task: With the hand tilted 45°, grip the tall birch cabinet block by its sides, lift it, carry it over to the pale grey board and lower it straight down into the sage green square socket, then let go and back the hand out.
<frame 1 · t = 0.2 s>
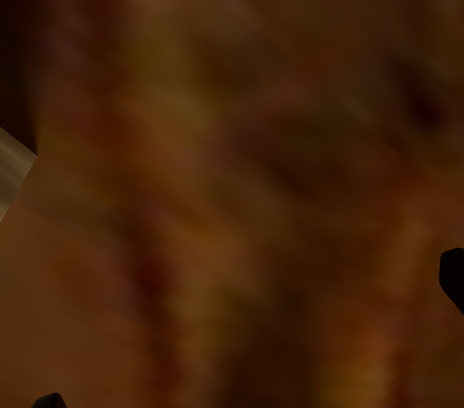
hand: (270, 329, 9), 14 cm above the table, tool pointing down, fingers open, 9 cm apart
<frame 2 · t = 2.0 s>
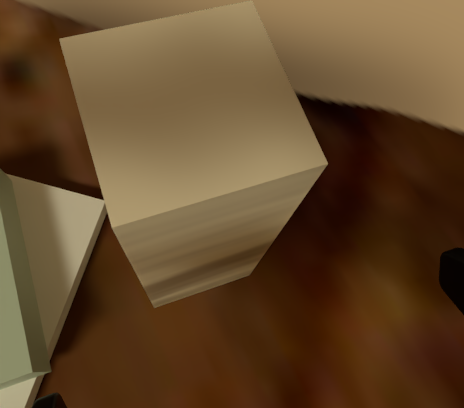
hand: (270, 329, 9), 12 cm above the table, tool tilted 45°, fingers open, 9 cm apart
birch cabinet block: (187, 244, 22), on the table
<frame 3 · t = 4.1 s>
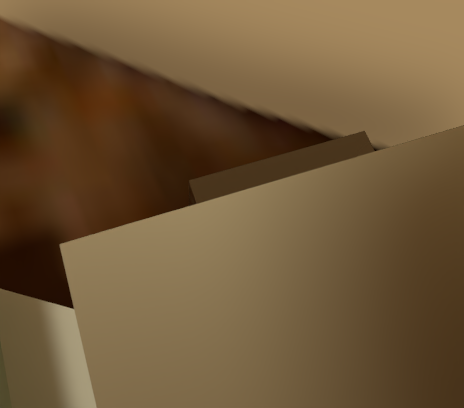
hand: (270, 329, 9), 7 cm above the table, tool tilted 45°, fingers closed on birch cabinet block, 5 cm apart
birch cabinet block: (249, 384, 15), on the table, touching gripper
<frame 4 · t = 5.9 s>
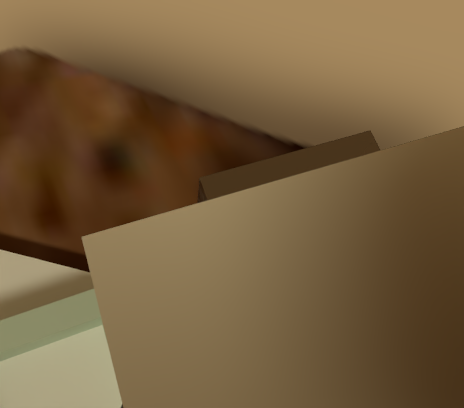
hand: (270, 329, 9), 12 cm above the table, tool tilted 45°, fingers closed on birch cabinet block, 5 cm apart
birch cabinet block: (249, 382, 15), point 6 cm above the table, touching gripper
when the fingers open (9 cm above the table, at t = 7.8 s): birch cabinet block stays where it is, resting on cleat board.
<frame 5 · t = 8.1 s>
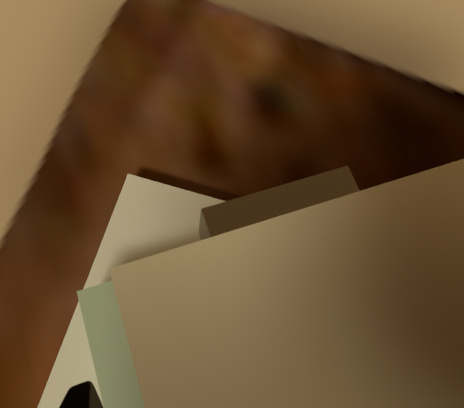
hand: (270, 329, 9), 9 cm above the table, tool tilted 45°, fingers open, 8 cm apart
birch cabinet block: (247, 381, 16), point 1 cm above the table, touching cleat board
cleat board: (242, 379, 17), on the table
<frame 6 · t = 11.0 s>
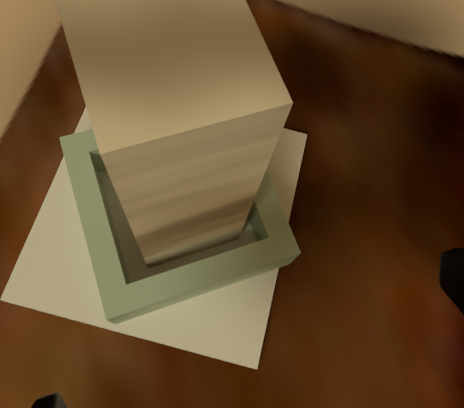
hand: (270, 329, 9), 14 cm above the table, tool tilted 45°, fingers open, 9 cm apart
birch cabinet block: (179, 211, 23), point 1 cm above the table, touching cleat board
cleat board: (178, 216, 24), on the table
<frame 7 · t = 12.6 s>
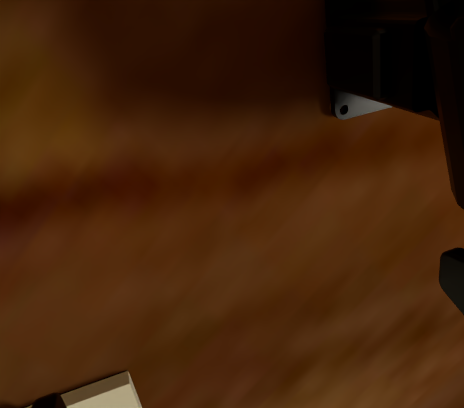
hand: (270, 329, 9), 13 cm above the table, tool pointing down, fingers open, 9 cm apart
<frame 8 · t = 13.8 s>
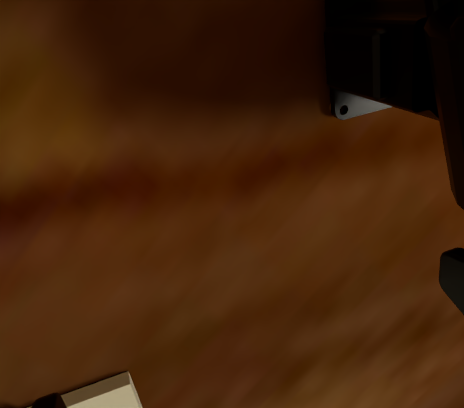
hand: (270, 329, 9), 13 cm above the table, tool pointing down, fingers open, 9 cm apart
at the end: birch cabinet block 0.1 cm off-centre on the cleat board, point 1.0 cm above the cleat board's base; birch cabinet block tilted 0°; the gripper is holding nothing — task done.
